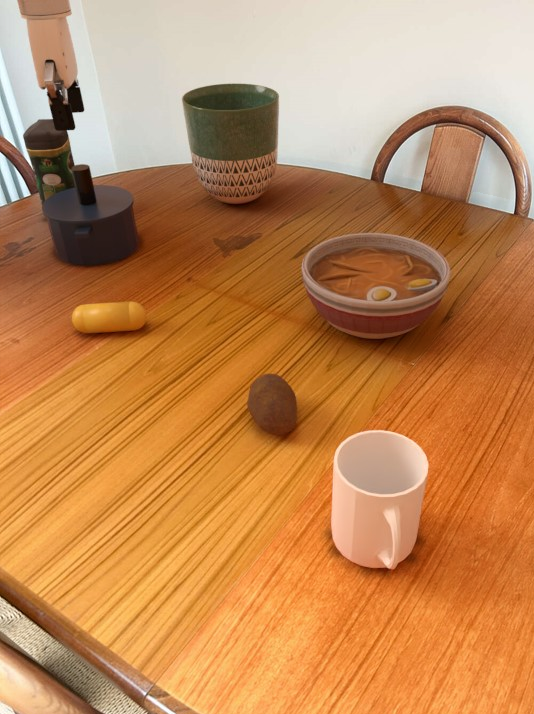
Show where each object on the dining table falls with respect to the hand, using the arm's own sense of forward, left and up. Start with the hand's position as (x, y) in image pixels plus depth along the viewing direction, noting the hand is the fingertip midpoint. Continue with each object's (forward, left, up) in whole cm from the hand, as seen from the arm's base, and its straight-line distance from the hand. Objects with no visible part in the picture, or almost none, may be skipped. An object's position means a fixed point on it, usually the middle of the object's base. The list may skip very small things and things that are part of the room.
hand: (70, 120), depth 111 cm
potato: (+30, -54, -24) cm, 66 cm away
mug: (+40, -76, -24) cm, 89 cm away
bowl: (+48, -31, -24) cm, 61 cm away
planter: (+28, +21, -24) cm, 43 cm away
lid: (0, +1, -16) cm, 16 cm away
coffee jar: (-9, +18, -24) cm, 32 cm away
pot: (0, +1, -24) cm, 24 cm away
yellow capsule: (+6, -29, -24) cm, 38 cm away
